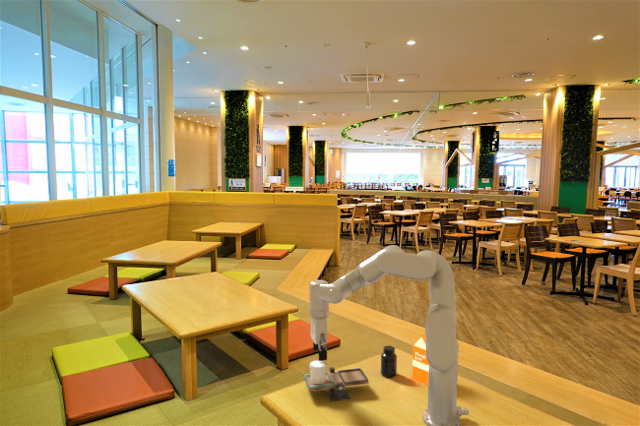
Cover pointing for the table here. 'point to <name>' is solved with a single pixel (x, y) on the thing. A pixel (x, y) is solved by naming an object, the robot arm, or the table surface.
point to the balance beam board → (338, 379)
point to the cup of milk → (318, 371)
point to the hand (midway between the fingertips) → (319, 354)
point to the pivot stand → (337, 390)
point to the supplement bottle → (388, 362)
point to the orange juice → (420, 361)
